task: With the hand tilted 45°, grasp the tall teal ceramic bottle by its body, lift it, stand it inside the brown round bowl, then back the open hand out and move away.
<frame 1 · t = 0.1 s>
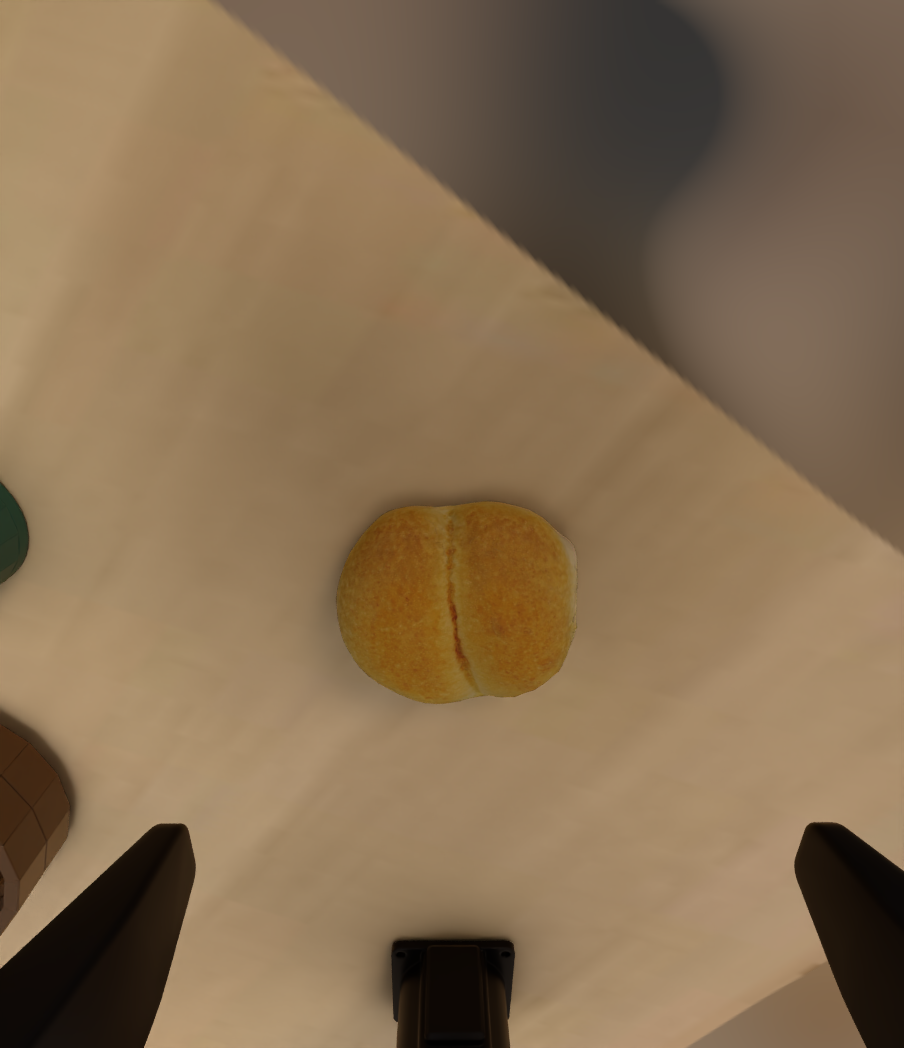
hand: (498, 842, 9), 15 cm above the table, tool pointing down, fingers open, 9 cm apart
bread roll: (462, 584, 24), on the table
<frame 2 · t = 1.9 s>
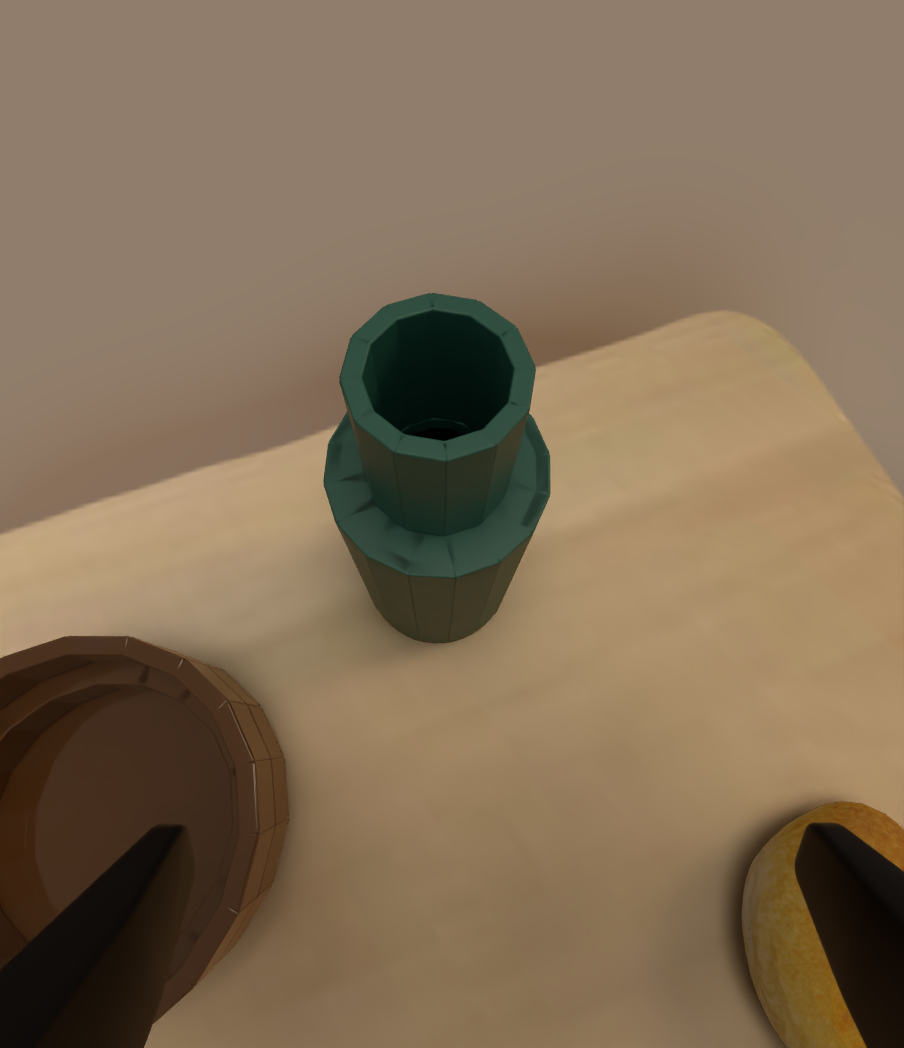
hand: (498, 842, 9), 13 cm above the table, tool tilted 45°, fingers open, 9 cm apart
ceramic bottle: (437, 574, 24), on the table
bread roll: (866, 945, 20), on the table
brown round bowl: (130, 815, 21), on the table
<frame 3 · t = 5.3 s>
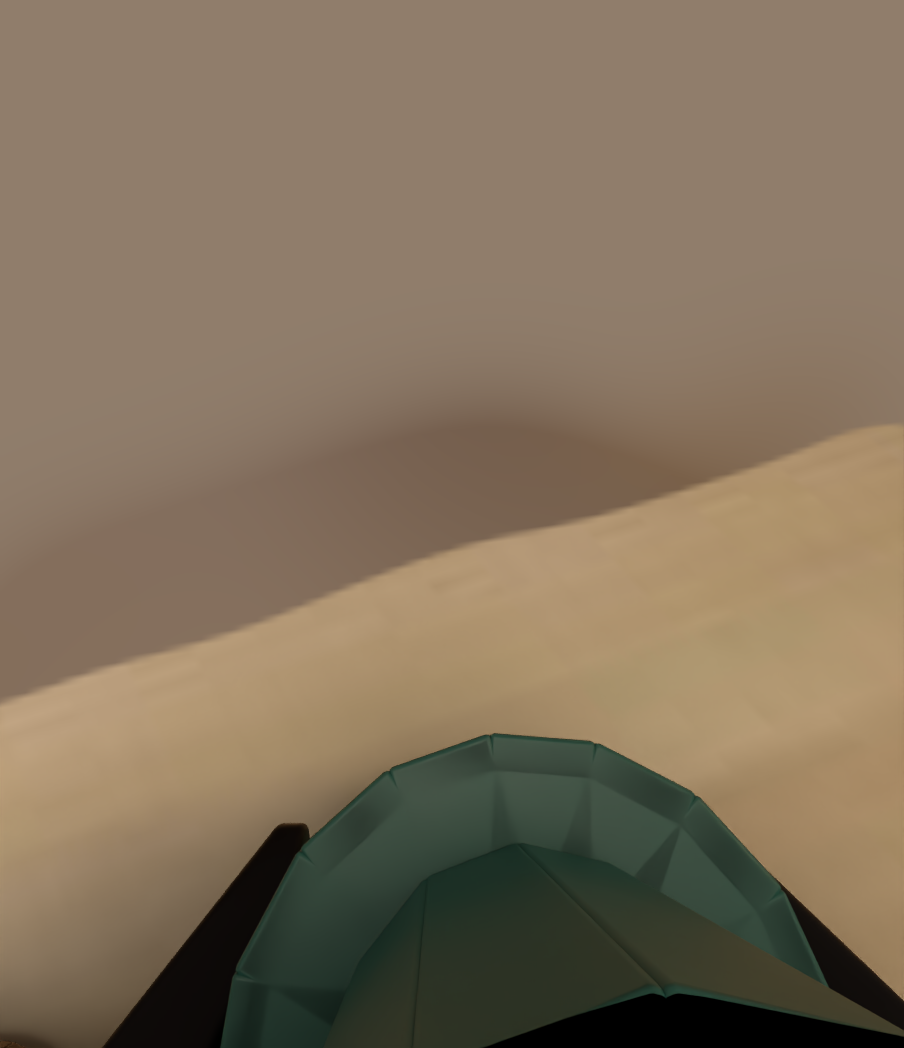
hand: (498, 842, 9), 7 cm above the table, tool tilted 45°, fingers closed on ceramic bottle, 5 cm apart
ceramic bottle: (472, 875, 14), on the table, touching gripper
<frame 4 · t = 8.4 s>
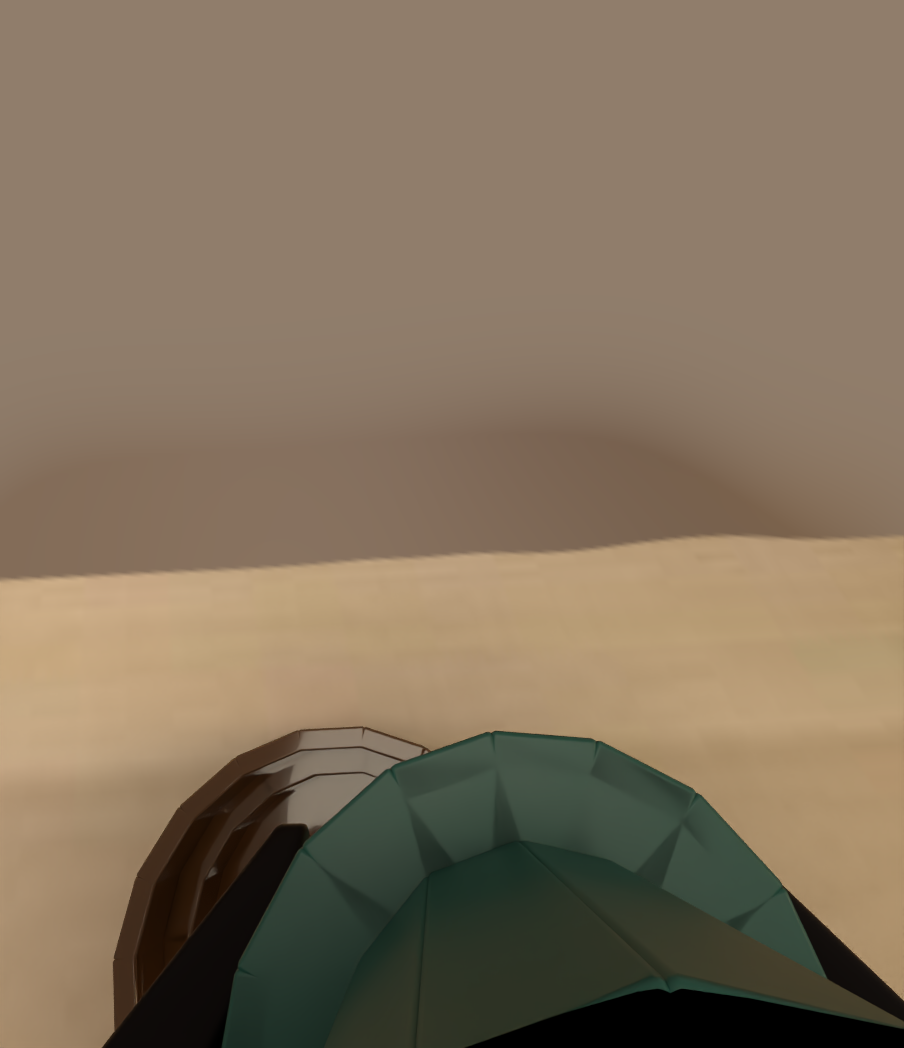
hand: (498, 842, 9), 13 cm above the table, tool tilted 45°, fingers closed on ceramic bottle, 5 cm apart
ceramic bottle: (473, 873, 14), point 7 cm above the table, touching gripper
brown round bowl: (348, 909, 20), on the table
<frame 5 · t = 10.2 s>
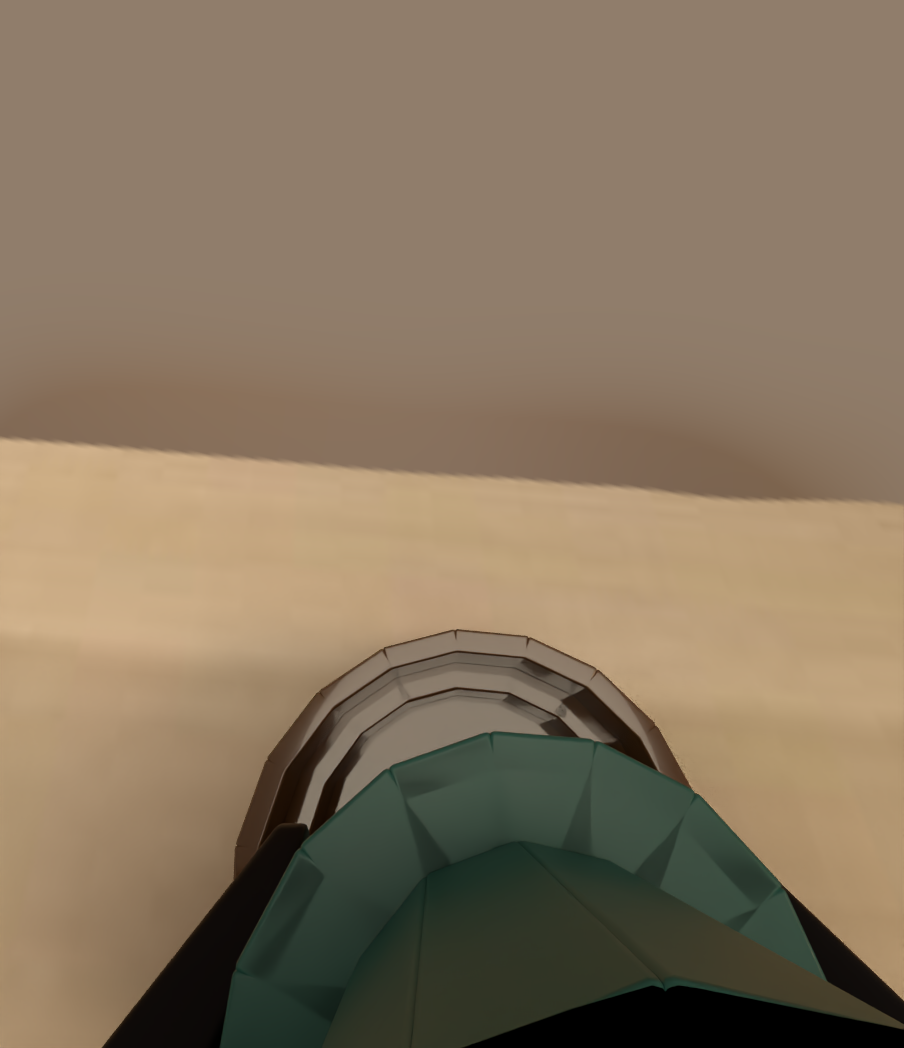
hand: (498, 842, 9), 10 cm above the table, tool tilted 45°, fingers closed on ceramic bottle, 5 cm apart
ceramic bottle: (472, 874, 14), point 4 cm above the table, touching gripper
brown round bowl: (467, 845, 18), on the table
when the fingers open (7 cm above the table, at t = 11.6 s): ceramic bottle stays where it is, resting on brown round bowl.
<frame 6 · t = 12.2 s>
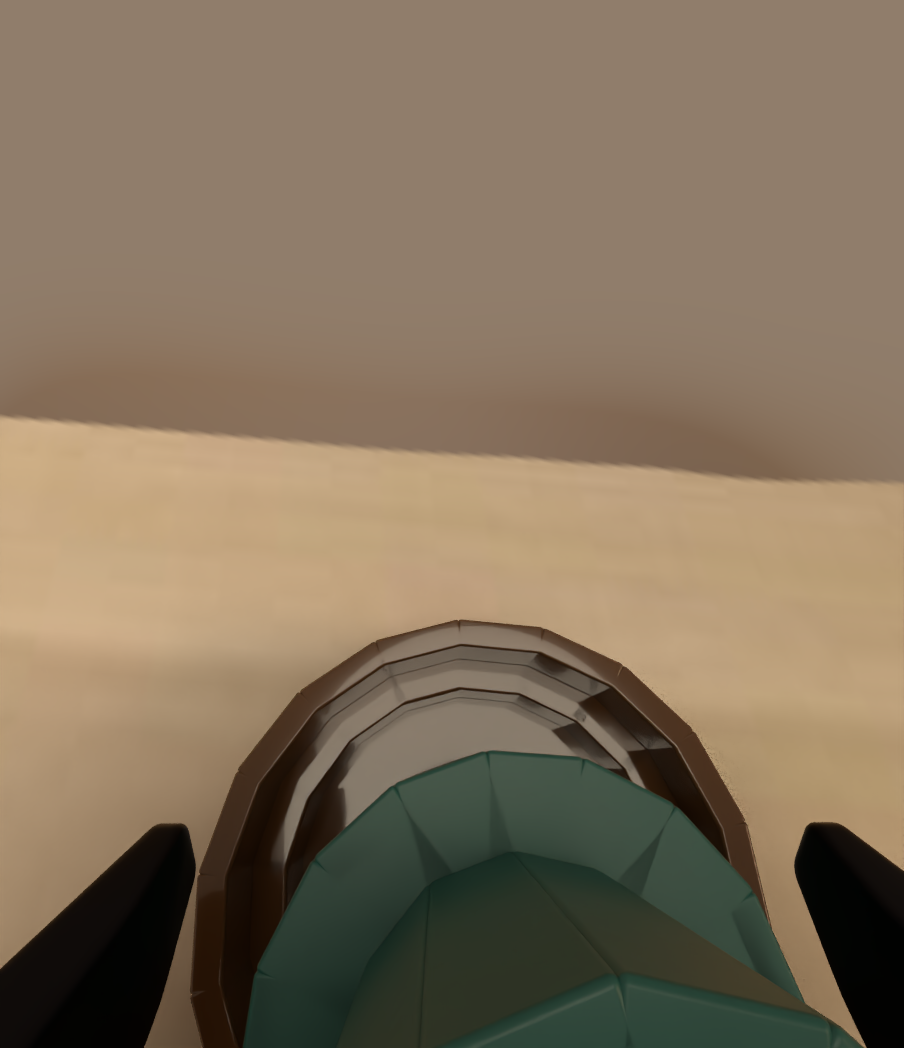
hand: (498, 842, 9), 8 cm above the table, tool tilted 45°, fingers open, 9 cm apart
ceramic bottle: (473, 877, 15), point 1 cm above the table, touching brown round bowl
brown round bowl: (472, 869, 15), on the table
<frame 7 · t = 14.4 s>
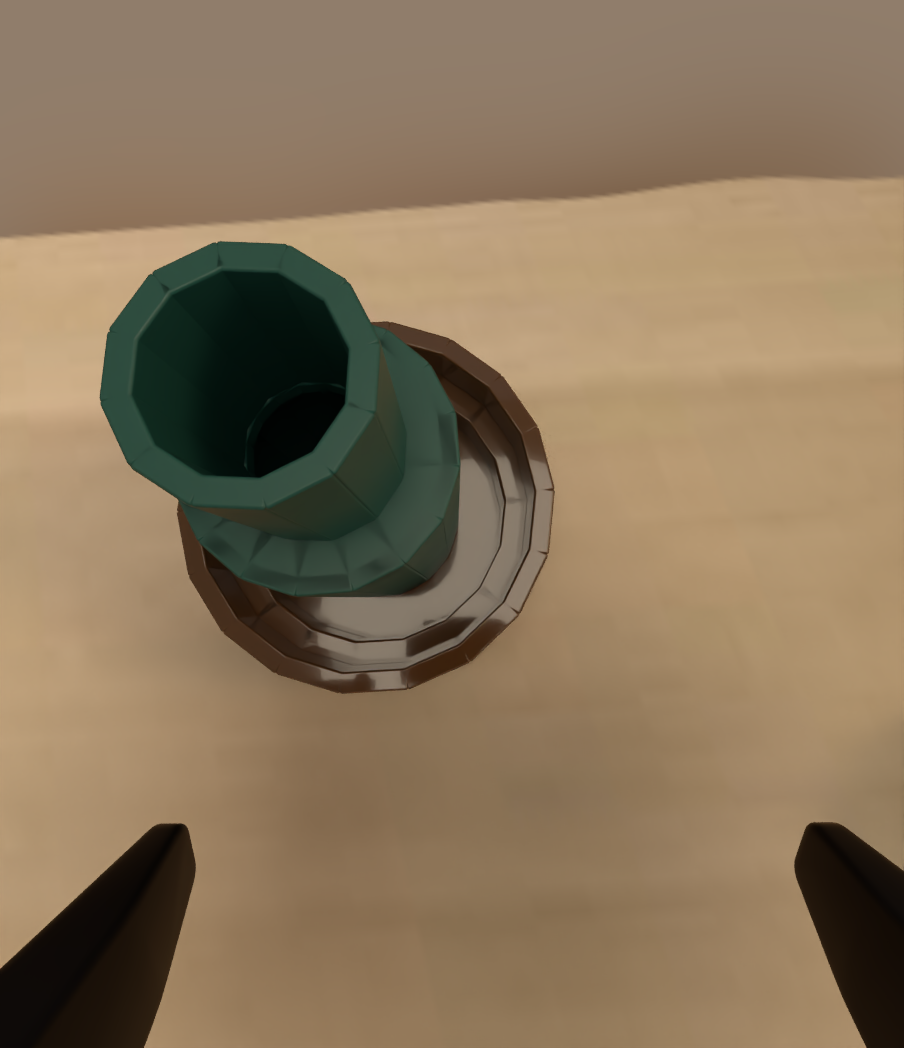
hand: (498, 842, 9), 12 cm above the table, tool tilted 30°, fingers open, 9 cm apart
ceramic bottle: (380, 519, 21), point 1 cm above the table, touching brown round bowl
brown round bowl: (382, 518, 22), on the table
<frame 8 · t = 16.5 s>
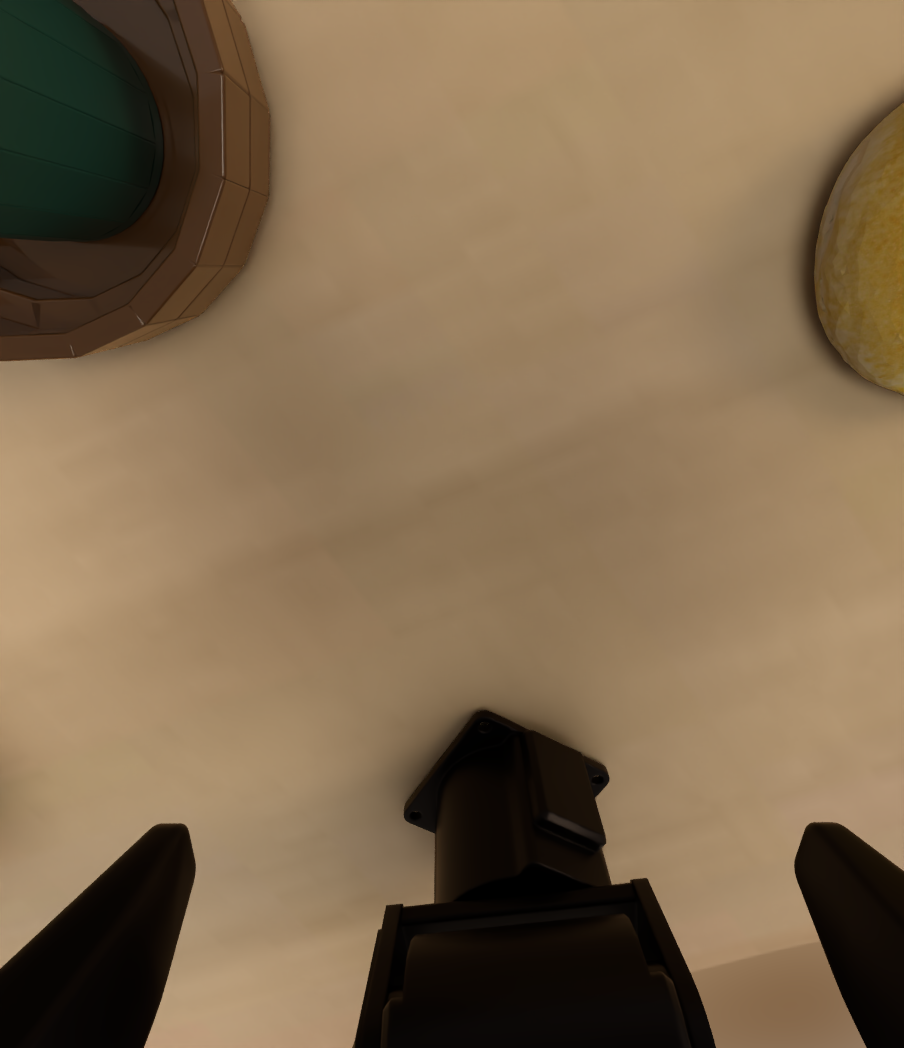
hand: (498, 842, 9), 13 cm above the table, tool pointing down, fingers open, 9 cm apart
ceramic bottle: (58, 127, 16), point 1 cm above the table, touching brown round bowl
brown round bowl: (69, 128, 16), on the table
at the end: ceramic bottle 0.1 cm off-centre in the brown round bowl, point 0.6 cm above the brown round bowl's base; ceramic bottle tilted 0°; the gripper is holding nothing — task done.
